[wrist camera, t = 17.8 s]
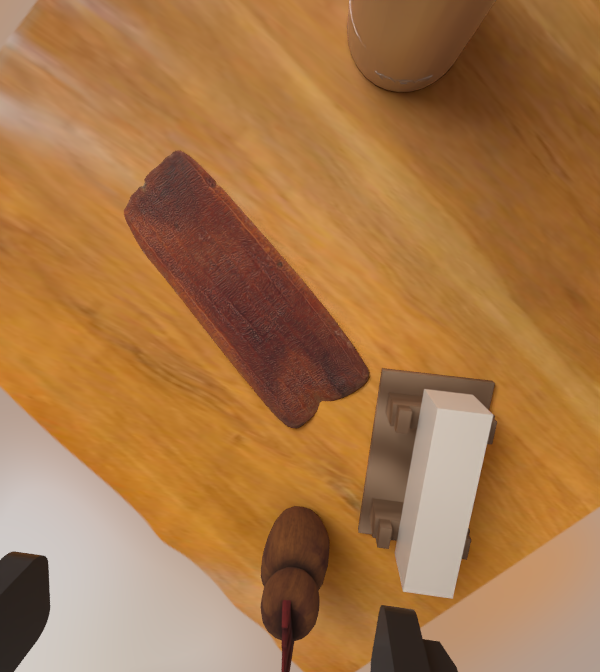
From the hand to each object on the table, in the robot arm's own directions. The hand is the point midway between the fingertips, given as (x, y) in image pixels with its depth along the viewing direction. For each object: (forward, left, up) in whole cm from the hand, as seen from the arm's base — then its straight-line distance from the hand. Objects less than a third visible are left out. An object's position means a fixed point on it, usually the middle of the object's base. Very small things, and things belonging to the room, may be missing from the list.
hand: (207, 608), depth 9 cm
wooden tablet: (-4, -5, -29) cm, 30 cm away
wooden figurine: (+19, +2, -28) cm, 34 cm away
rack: (+10, +13, -28) cm, 33 cm away
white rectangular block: (+10, +13, -24) cm, 29 cm away
